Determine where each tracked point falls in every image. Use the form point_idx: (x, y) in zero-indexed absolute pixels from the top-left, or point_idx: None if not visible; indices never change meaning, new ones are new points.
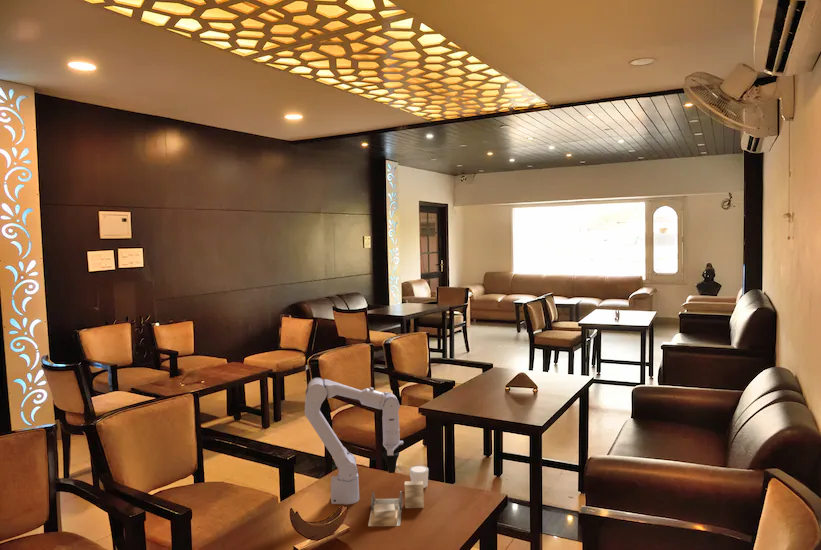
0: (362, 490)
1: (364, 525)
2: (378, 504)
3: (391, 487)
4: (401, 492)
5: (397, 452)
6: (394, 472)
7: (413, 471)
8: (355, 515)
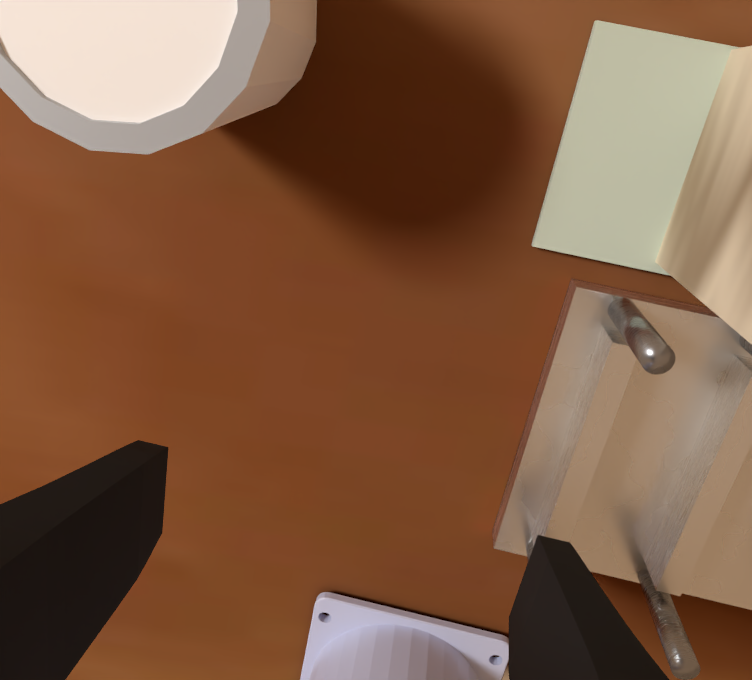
0: (206, 563)
1: None
2: (671, 557)
3: (177, 324)
4: (673, 351)
5: (19, 557)
6: (573, 551)
7: (197, 96)
8: None
